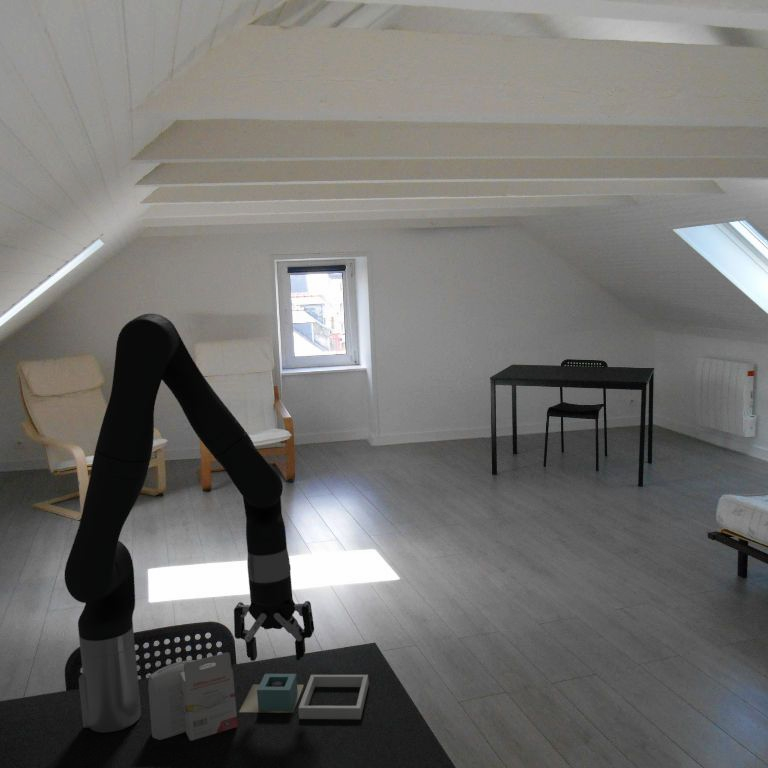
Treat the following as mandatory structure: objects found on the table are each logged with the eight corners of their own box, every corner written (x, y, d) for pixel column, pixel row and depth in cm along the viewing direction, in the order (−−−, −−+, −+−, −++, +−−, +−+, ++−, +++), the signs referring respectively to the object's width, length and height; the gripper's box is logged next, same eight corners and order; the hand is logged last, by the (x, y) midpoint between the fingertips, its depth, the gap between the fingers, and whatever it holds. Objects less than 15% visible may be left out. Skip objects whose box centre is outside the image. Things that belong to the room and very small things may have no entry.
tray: (299, 723, 142) (298, 708, 141) (311, 689, 153) (311, 674, 153) (361, 724, 140) (360, 708, 140) (368, 689, 152) (368, 674, 152)
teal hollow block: (258, 710, 145) (256, 689, 144) (268, 688, 153) (267, 668, 152) (291, 710, 144) (289, 690, 144) (299, 688, 152) (298, 668, 152)
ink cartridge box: (231, 718, 144) (224, 641, 143) (238, 732, 140) (232, 652, 138) (183, 732, 141) (176, 653, 139) (189, 746, 136) (182, 664, 134)
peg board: (239, 717, 145) (237, 693, 144) (253, 689, 155) (251, 667, 154) (293, 717, 144) (291, 694, 143) (304, 689, 154) (302, 667, 153)
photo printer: (205, 715, 145) (200, 651, 144) (214, 726, 142) (208, 660, 140) (149, 735, 140) (143, 668, 138) (156, 746, 136) (150, 677, 135)
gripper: (224, 582, 141) (233, 669, 143) (303, 580, 139) (311, 668, 141) (236, 567, 149) (244, 649, 150) (312, 565, 147) (319, 648, 149)
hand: (276, 658), depth 146 cm, fingers open, 8 cm apart
